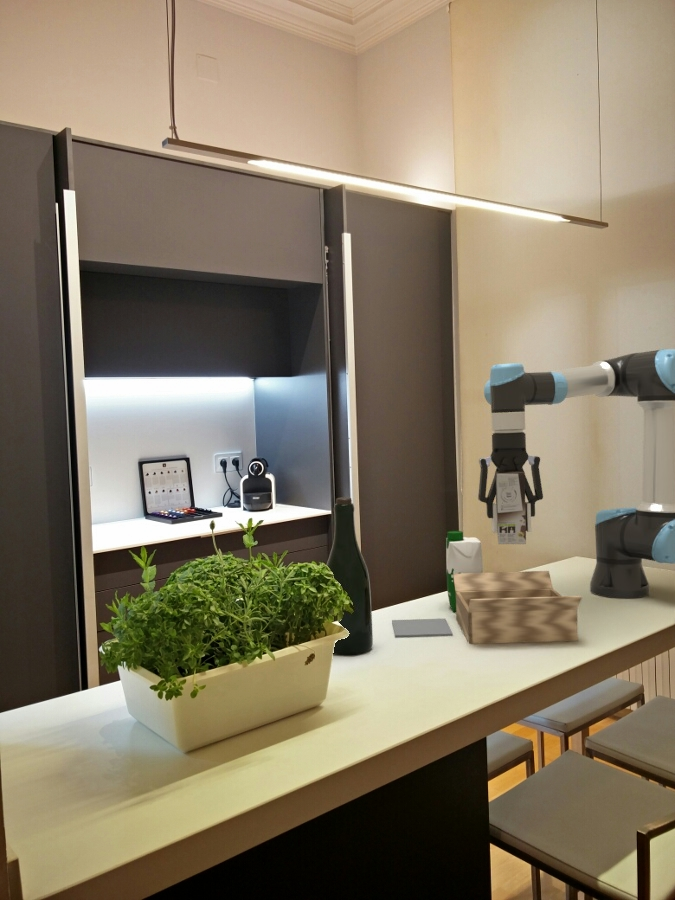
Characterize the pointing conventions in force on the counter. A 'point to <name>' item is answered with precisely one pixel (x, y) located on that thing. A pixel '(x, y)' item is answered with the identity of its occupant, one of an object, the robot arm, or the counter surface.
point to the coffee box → (511, 508)
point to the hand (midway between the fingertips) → (511, 531)
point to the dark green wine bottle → (351, 581)
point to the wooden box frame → (514, 608)
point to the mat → (421, 628)
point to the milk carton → (461, 560)
